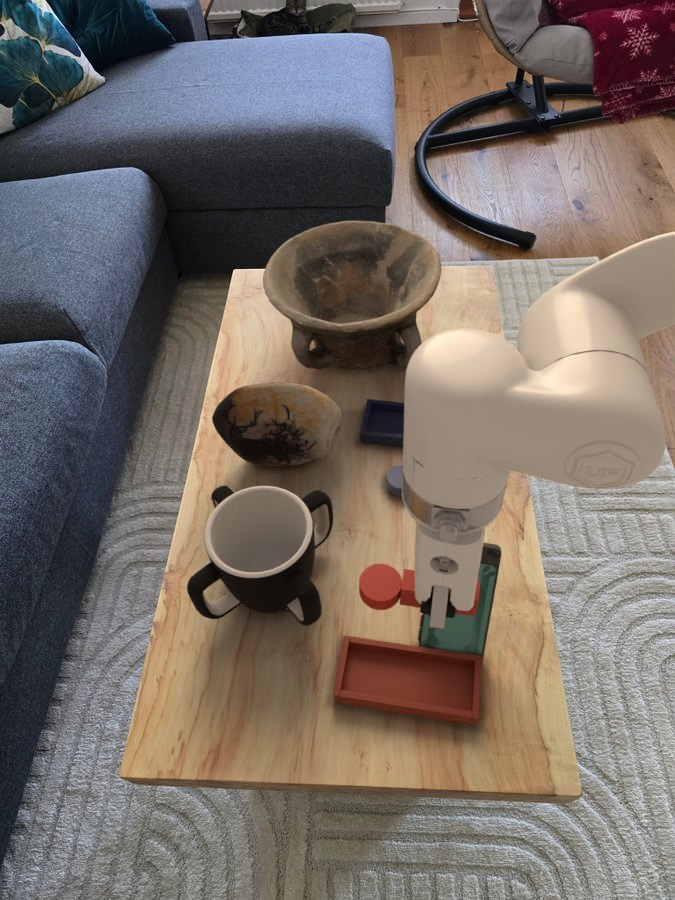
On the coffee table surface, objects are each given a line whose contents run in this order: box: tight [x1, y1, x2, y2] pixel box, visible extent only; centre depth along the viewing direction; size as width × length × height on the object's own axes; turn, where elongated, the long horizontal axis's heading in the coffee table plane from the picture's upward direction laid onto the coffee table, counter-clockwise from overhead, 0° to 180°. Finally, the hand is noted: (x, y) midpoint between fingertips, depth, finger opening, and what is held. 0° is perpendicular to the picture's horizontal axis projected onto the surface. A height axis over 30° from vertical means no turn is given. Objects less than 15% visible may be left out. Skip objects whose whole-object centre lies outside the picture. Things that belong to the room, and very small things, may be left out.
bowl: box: [262, 220, 442, 370], centre depth 106 cm, size 27×26×15 cm
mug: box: [186, 485, 334, 627], centre depth 80 cm, size 16×16×12 cm
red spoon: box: [358, 563, 480, 616], centre depth 63 cm, size 11×4×3 cm, turn 79°
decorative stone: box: [211, 381, 344, 467], centre depth 91 cm, size 18×9×15 cm, turn 90°
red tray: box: [332, 635, 483, 726], centre depth 75 cm, size 15×7×2 cm, turn 80°
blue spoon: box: [386, 464, 403, 497], centre depth 91 cm, size 11×4×3 cm, turn 80°
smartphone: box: [417, 542, 502, 667], centre depth 74 cm, size 7×1×15 cm
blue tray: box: [359, 398, 404, 448], centre depth 98 cm, size 15×7×2 cm, turn 80°
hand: (438, 598), depth 64 cm, fingers closed on red spoon, 2 cm apart
